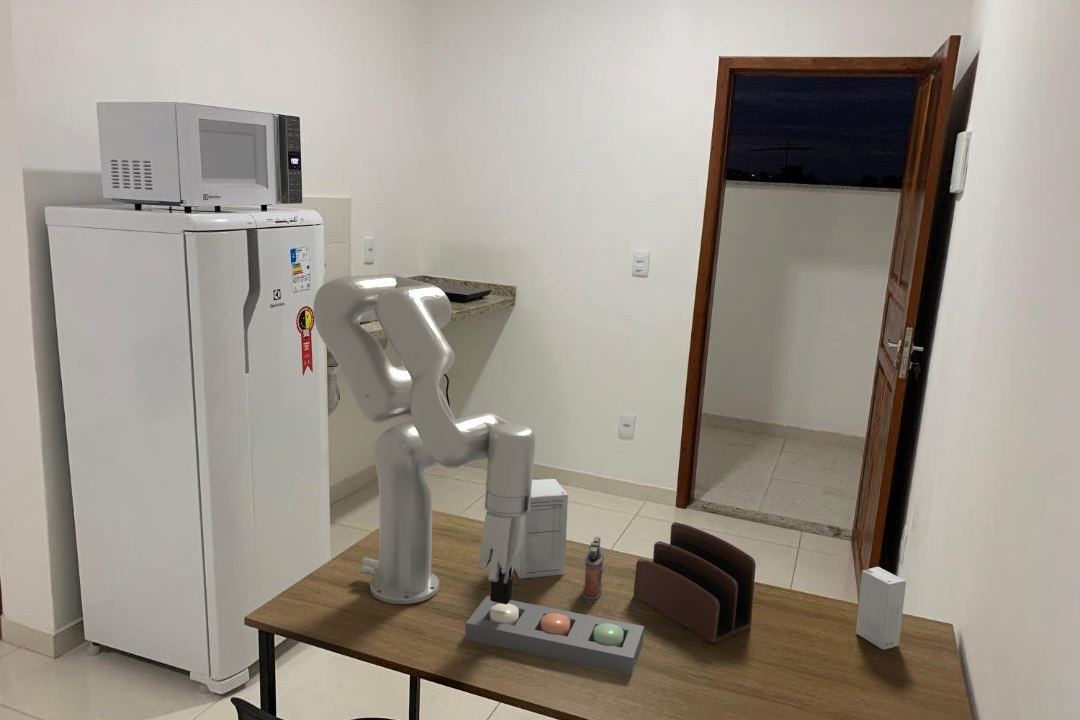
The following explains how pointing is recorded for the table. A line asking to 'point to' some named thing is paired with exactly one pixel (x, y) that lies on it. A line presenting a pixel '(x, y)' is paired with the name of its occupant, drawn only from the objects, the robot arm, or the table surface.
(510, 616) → the cream button
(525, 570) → the supplement box
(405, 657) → the table surface
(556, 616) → the terracotta button
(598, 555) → the lighter
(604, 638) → the sage button
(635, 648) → the button panel
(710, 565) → the letter holder
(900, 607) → the skincare box
